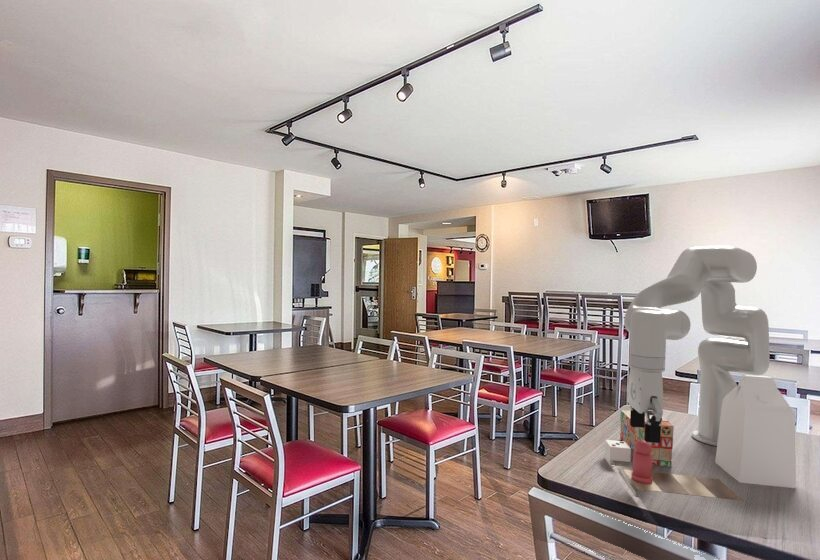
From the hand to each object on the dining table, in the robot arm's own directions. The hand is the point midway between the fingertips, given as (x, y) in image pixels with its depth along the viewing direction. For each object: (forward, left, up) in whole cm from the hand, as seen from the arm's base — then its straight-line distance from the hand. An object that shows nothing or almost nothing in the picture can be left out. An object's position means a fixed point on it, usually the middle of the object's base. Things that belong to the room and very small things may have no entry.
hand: (644, 434), depth 105 cm
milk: (-29, -10, -13) cm, 33 cm away
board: (-8, 0, -12) cm, 15 cm away
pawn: (0, 0, -11) cm, 11 cm away
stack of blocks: (-7, -20, -13) cm, 25 cm away
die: (+2, -13, -12) cm, 18 cm away
